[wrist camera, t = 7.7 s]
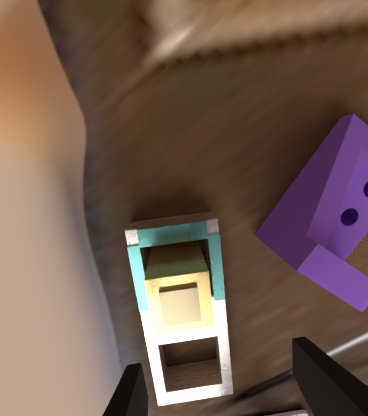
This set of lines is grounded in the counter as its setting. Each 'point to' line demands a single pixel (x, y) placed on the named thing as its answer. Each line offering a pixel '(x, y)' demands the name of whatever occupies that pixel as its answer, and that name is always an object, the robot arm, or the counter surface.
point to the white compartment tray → (190, 372)
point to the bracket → (326, 214)
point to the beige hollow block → (178, 288)
